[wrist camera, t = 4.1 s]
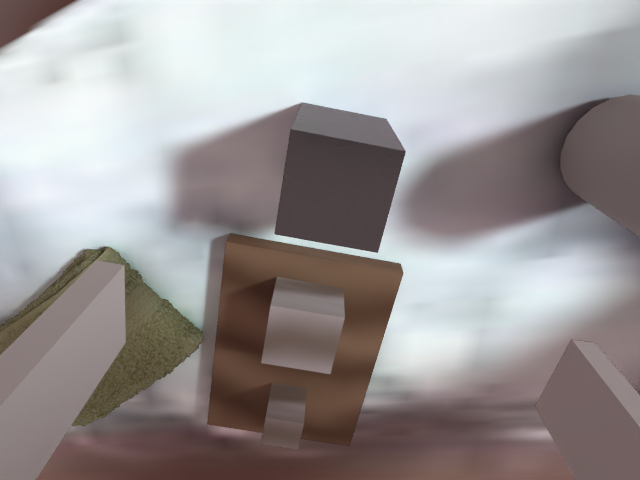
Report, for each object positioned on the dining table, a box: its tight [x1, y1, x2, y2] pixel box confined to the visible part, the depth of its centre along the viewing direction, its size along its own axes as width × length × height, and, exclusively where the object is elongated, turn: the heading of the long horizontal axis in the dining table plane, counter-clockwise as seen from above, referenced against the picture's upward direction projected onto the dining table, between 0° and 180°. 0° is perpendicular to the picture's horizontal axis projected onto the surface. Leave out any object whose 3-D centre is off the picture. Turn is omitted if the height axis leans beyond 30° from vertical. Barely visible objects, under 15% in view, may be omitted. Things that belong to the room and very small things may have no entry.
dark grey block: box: [275, 103, 406, 253], centre depth 28 cm, size 6×6×9 cm
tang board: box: [207, 234, 403, 450], centre depth 37 cm, size 20×14×6 cm
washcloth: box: [0, 247, 204, 426], centre depth 39 cm, size 13×18×3 cm
